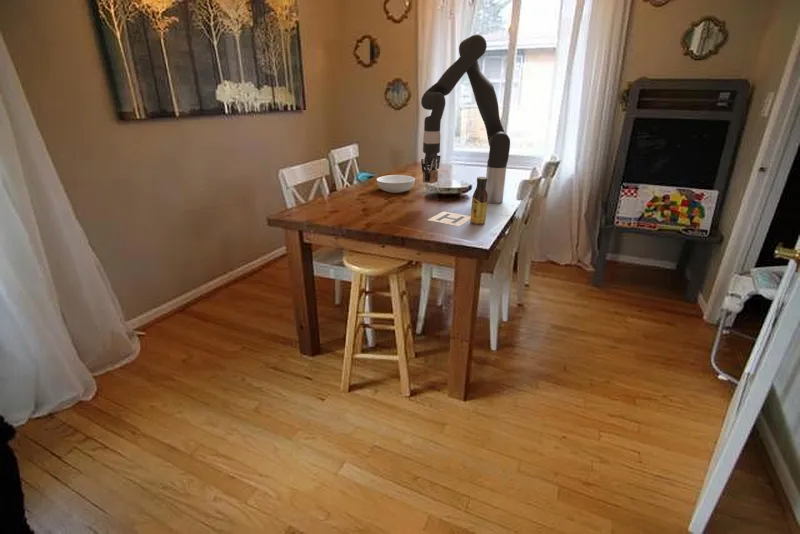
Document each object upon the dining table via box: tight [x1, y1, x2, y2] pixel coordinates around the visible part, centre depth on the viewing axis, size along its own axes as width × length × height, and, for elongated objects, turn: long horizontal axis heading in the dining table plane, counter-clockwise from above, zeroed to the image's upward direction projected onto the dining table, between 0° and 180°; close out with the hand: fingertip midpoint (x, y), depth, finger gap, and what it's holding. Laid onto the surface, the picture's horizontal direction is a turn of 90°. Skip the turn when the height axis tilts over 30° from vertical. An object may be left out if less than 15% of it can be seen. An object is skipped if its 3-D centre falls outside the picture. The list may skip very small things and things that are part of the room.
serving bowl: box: [376, 174, 416, 194], centre depth 219 cm, size 21×21×7 cm
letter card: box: [427, 210, 471, 227], centre depth 173 cm, size 15×15×1 cm
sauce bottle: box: [469, 176, 488, 227], centre depth 163 cm, size 7×6×20 cm
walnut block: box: [422, 169, 439, 184], centre depth 182 cm, size 5×5×5 cm
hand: (430, 180), depth 182 cm, fingers closed on walnut block, 5 cm apart
